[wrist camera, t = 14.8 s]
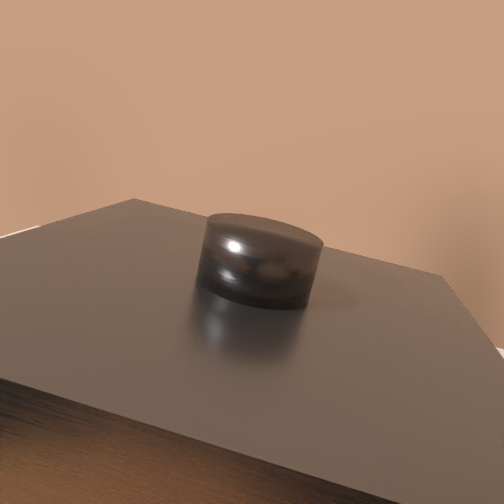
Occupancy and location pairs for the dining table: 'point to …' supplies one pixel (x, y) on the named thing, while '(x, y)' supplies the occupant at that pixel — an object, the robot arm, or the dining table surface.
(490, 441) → the metal cover
